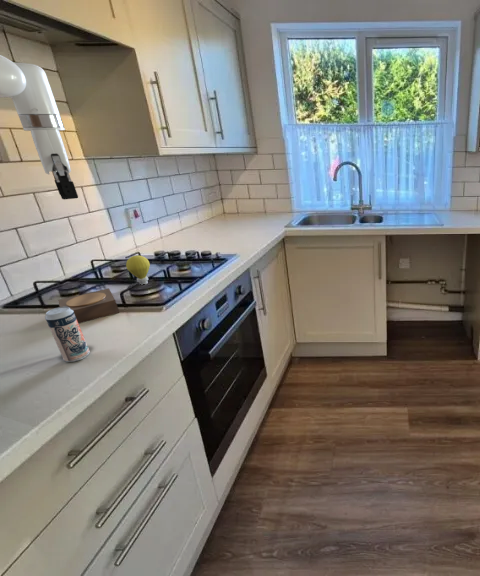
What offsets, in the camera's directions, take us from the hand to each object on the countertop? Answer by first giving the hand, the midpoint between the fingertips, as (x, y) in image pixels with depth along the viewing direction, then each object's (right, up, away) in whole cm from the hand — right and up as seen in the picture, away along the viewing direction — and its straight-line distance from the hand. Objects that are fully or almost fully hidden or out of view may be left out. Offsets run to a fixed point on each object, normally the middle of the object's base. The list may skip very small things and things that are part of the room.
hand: (69, 196), depth 93 cm
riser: (-3, -31, +11) cm, 33 cm away
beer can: (+11, -40, -10) cm, 42 cm away
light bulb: (-2, -22, +32) cm, 39 cm away
